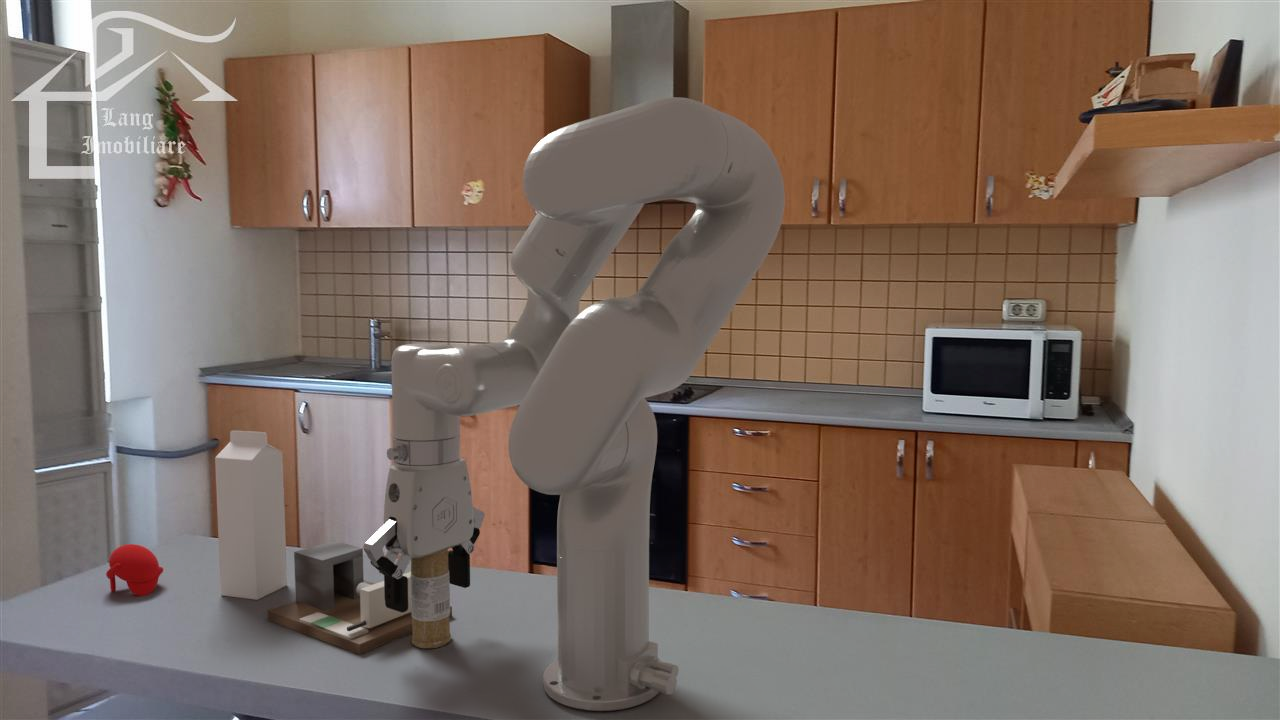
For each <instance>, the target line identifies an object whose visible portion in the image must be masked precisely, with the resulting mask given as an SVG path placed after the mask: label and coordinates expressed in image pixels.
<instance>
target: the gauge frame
mask: <svg viewBox="0 0 1280 720" xmlns="http://www.w3.org/2000/svg"><path fill="white" fill-rule="evenodd" d="M293 553H294V554H293V559H294V561H293V562H294V585H295V587H294V590H295V592H294V593H295V600H294V601H291V602H288V603H284V604H282V605H279V606H277V607H273V608H270V609H267V610H266V612H267V613H266V617H267V621H270V622H272V623H276V624H278V625H281V626H284V627H286V628H288V629H290V630H294V631H297V632H299V633H302V634H304V635H308V636H309V637H312V638H314V639H317V640H320V641H322V642H325V643H328V644H331V645H333V646H336V647H338V648H342V649H344V650H345V651H349V652H352V653H354V654H357V655H359V656H360V655H362V654H364V653H367V652H369V651H372V650H375V649H376V648H378V647H380V646H383V645H385V644H389V643H391V642H394V641H396V640H397V639H401V638H402V637H405V636H407V635H410V634H411V633H412V634H413V627H412V612H410V613H407V614H405V615H402V616H400V617H397V618H395V619H392V620H390V621H387V622H384V623H382V624H379V625H377V626H374V627H372V628H367V627H364V626H362V627H359V628H357V629H354V630H351V631H347V627H349V626H351V625H354V624H357V623H359V622H361V610H360V595H358V594H357V593H356V588H357V586H358V585H359V584H360V583H362V582H363V583H367V584H370V585H373V584H376V583H375V582H372V581H369V580H366V579H364V549H363V547H359V546H355V545H351V544H347V543H346V542H345V543H344V542H341V541H338V540H331V541H329V542H324V543H322V544H318V545H315V546H311V547H307V548H304V549H300V550H297V551H294V552H293ZM450 617H453V607H452V606H451V605H450V614H449V618H450Z"/></svg>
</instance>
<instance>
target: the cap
mask: <svg viewBox="0 0 1280 720" xmlns="http://www.w3.org/2000/svg"><path fill="white" fill-rule="evenodd" d="M108 562H109V564H108V565H109V569H108V570H106V573H105V575H106V578H108V580H109V585H110V591H111V592H116V589H117V584H116V582H117V581H116V577H118V578H119V579H120V580H122V581H124V582H126V585H127V587H128V589H129V591H130V592H131V593H132V594H134V595H135V596H138V597H145V596H148V595H150V594H151V593H152V592H153V591H154V590H155V589H156V587H157V585H158V581H159V577H161V575H162V573H163V572H164V568H163V567H162V566H160V565H159V560H158V558H157V557H156V555H155V554H154V552H152V551H151V550H150V549H149V548H147V547H145V546H142V545H140V544H135V543H129V544H124V545H120V546H119V547H116V549H114V550H113V552H112V553H111V554H110V556H109V560H108Z"/></svg>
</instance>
